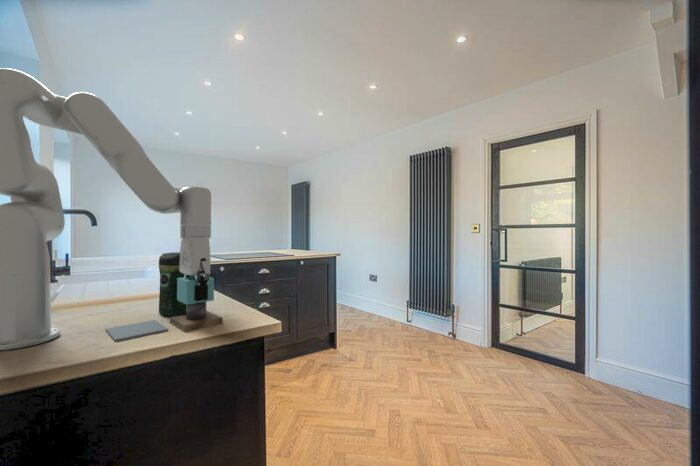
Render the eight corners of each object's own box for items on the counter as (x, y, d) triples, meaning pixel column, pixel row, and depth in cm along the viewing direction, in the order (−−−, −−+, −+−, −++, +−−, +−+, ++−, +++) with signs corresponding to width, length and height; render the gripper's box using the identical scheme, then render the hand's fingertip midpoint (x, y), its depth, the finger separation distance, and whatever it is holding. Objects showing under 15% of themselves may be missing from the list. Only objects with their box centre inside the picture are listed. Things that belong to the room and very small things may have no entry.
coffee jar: (198, 312, 98) (198, 252, 97) (172, 319, 91) (172, 254, 90) (179, 308, 102) (179, 250, 102) (154, 314, 96) (153, 252, 95)
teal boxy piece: (186, 304, 82) (186, 281, 82) (177, 300, 87) (177, 278, 87) (213, 300, 87) (213, 278, 87) (203, 296, 92) (203, 275, 92)
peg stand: (183, 331, 80) (183, 286, 80) (170, 323, 87) (170, 281, 87) (222, 323, 88) (222, 281, 87) (207, 315, 94) (207, 277, 94)
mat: (115, 341, 73) (115, 339, 73) (105, 330, 80) (105, 328, 80) (168, 330, 81) (168, 328, 81) (154, 321, 88) (154, 319, 88)
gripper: (169, 232, 90) (169, 294, 90) (194, 233, 78) (193, 305, 78) (197, 232, 96) (197, 291, 96) (223, 233, 84) (223, 301, 84)
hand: (195, 297), depth 87 cm, fingers closed on teal boxy piece, 7 cm apart
